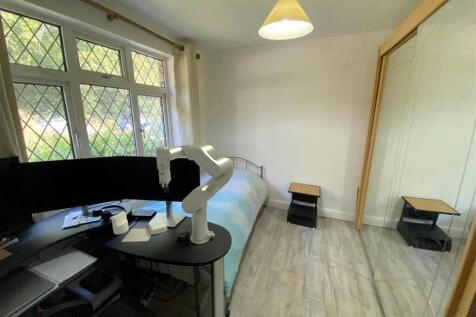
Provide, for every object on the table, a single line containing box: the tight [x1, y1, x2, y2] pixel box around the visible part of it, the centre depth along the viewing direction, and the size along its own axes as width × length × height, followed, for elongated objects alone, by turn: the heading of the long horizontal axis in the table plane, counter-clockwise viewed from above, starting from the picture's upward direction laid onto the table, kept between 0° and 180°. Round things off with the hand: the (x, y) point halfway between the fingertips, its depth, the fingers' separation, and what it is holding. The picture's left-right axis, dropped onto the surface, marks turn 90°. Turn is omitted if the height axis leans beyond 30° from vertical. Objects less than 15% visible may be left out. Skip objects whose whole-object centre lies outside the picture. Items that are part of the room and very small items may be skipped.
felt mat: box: [121, 227, 153, 243], centre depth 131 cm, size 16×14×1 cm
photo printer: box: [147, 219, 168, 235], centre depth 137 cm, size 10×4×12 cm
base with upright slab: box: [111, 211, 130, 235], centre depth 135 cm, size 9×9×12 cm
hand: (165, 192), depth 132 cm, fingers closed
